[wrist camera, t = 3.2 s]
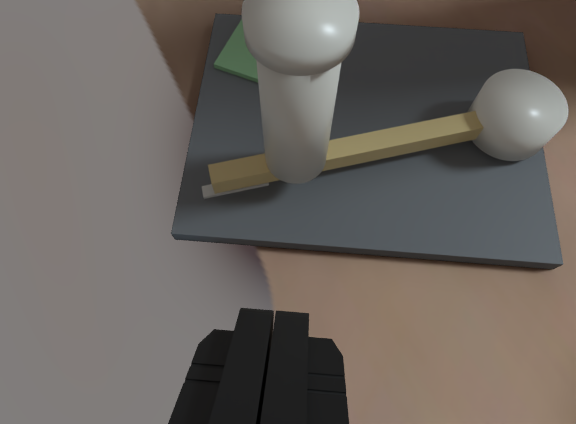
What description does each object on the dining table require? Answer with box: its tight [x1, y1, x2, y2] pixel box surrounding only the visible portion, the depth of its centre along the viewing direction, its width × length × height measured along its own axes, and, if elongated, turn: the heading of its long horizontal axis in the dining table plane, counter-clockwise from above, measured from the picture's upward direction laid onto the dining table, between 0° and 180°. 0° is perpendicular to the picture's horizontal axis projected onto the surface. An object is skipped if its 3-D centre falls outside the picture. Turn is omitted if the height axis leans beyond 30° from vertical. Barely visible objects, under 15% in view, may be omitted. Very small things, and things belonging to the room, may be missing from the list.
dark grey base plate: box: [171, 14, 563, 269], centre depth 23 cm, size 14×18×1 cm
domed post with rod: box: [208, 0, 568, 194], centre depth 17 cm, size 17×4×10 cm, turn 103°
